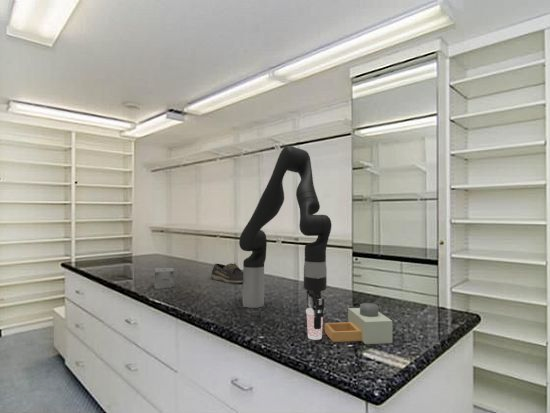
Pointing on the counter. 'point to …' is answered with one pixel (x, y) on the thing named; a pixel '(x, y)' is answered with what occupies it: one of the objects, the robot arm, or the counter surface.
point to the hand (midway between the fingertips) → (314, 325)
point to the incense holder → (164, 278)
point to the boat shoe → (227, 273)
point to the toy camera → (362, 326)
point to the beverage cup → (312, 332)
